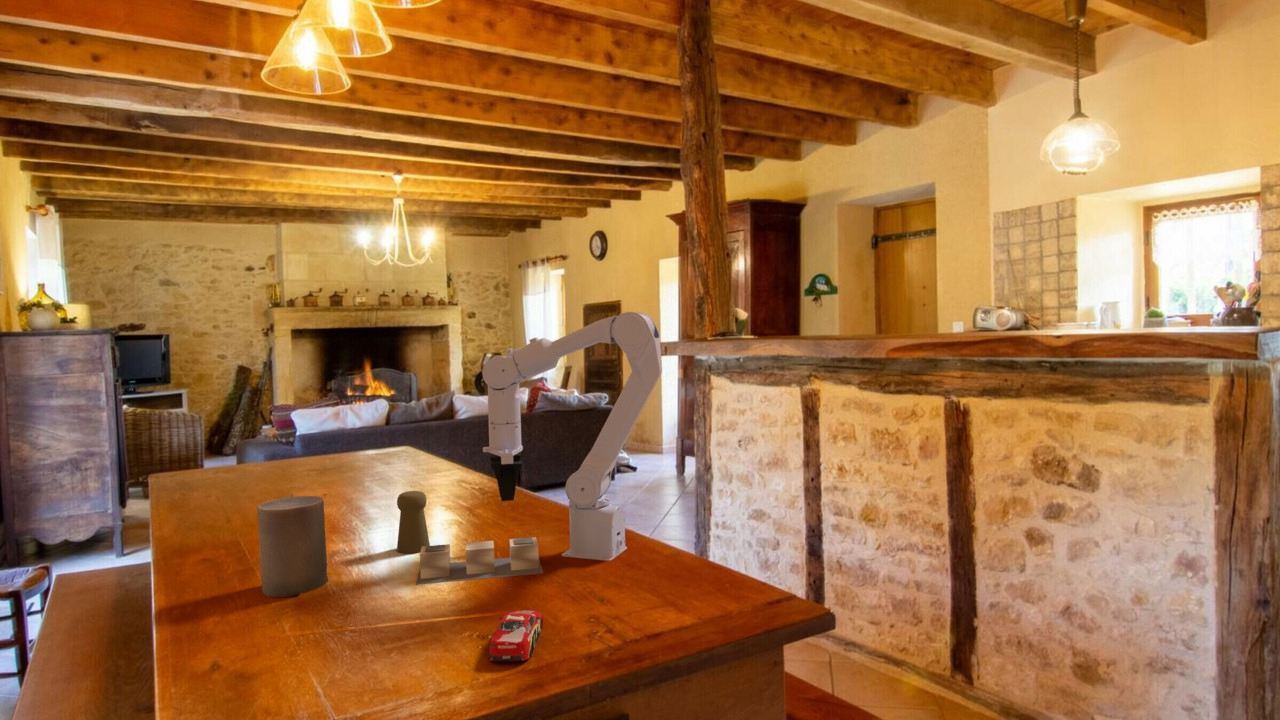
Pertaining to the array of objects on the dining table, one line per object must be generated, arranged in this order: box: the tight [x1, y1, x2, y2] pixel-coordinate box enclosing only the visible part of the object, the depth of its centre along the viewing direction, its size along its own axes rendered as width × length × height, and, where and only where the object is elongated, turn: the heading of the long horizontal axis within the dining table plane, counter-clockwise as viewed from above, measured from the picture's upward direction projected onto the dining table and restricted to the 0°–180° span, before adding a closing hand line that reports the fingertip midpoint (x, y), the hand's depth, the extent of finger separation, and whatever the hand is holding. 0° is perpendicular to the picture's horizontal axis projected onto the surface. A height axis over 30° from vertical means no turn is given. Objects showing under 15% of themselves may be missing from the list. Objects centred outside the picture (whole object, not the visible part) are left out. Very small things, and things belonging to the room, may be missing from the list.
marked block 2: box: [509, 536, 539, 570], centre depth 128 cm, size 4×4×4 cm
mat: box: [415, 554, 544, 586], centre depth 126 cm, size 20×10×1 cm, turn 102°
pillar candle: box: [257, 493, 329, 598], centre depth 120 cm, size 10×10×15 cm
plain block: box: [465, 540, 495, 574], centre depth 126 cm, size 4×4×4 cm
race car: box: [489, 609, 544, 663], centre depth 97 cm, size 13×5×4 cm, turn 177°
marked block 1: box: [419, 544, 451, 579], centre depth 125 cm, size 4×4×4 cm
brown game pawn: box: [396, 490, 431, 555], centre depth 139 cm, size 6×6×11 cm
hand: (506, 497), depth 137 cm, fingers open, 5 cm apart
